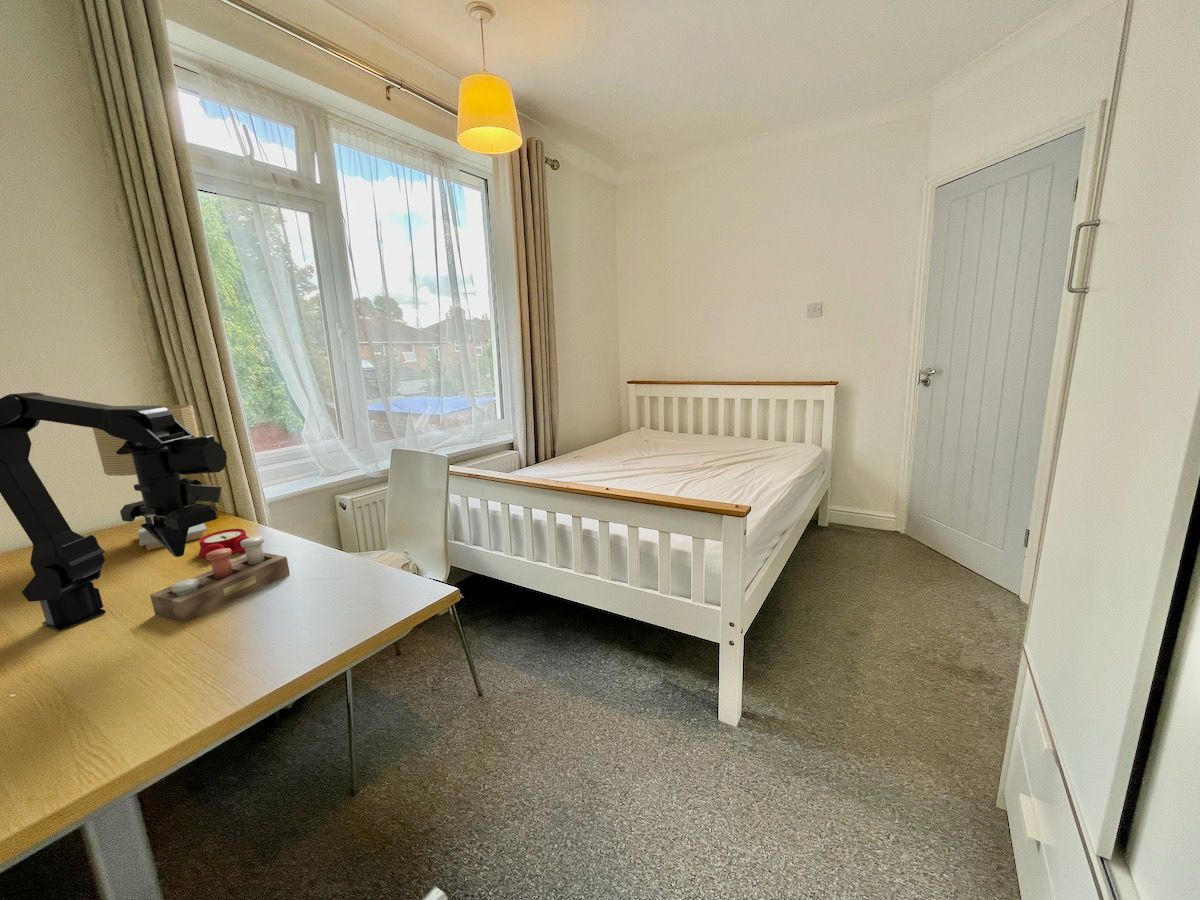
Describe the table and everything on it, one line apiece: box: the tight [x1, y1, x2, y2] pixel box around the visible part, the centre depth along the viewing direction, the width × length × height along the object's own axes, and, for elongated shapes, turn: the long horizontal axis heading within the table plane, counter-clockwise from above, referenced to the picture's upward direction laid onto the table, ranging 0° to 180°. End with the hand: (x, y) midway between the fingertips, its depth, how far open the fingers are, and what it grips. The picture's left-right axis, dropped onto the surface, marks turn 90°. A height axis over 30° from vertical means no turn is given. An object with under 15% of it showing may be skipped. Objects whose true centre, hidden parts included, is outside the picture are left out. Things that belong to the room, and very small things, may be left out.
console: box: [149, 552, 291, 624], centre depth 97 cm, size 20×9×4 cm, turn 158°
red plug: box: [205, 548, 233, 579], centre depth 96 cm, size 4×4×5 cm
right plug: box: [240, 535, 265, 565], centre depth 102 cm, size 4×4×5 cm
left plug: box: [171, 578, 200, 597], centre depth 91 cm, size 4×4×5 cm
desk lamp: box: [92, 404, 208, 551], centre depth 126 cm, size 20×20×35 cm
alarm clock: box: [198, 528, 251, 560], centre depth 118 cm, size 10×6×15 cm
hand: (179, 556), depth 89 cm, fingers closed
